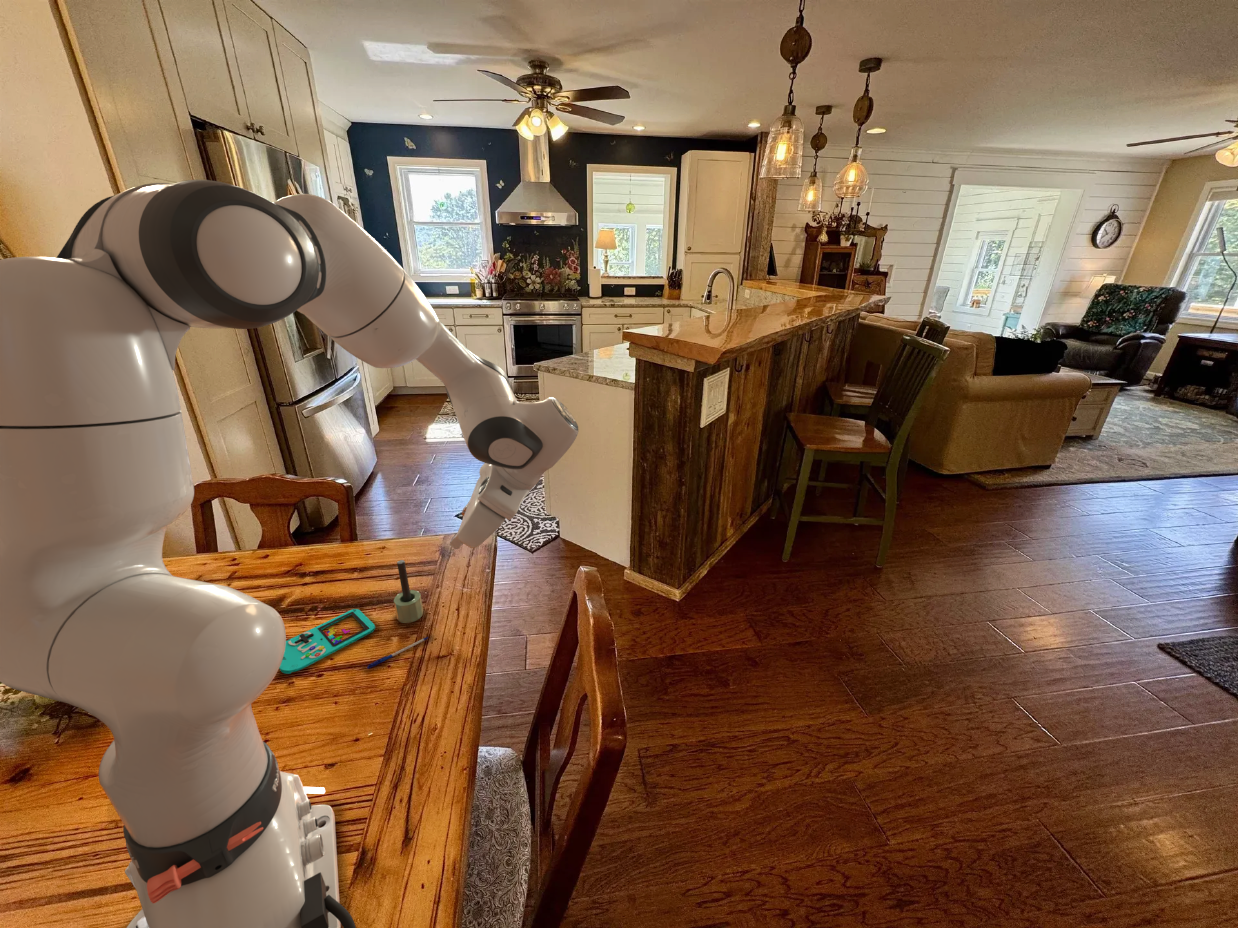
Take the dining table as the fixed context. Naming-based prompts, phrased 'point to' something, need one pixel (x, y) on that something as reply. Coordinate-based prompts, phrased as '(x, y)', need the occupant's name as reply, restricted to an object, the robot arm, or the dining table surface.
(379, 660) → the ballpoint pen
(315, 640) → the handheld gaming console
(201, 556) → the dining table surface
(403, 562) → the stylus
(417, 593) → the green hollow cylinder
